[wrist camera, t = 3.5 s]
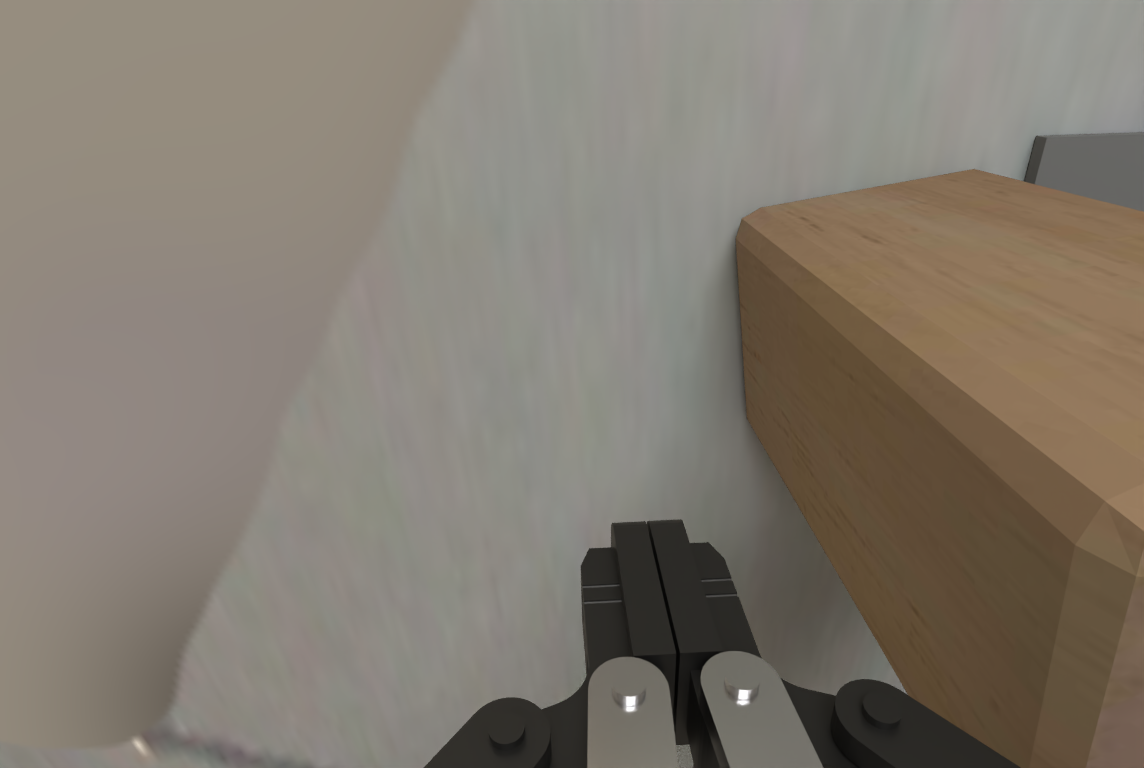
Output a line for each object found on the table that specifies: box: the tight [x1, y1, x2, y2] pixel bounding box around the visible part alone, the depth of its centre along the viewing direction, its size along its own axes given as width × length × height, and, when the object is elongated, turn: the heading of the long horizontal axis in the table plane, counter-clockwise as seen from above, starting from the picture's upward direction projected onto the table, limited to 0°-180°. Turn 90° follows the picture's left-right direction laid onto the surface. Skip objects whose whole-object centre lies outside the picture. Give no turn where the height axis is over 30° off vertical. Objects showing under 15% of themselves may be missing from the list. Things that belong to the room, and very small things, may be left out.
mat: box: [1024, 132, 1144, 212], centre depth 28 cm, size 9×13×1 cm
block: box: [736, 169, 1144, 768], centre depth 19 cm, size 10×10×20 cm
